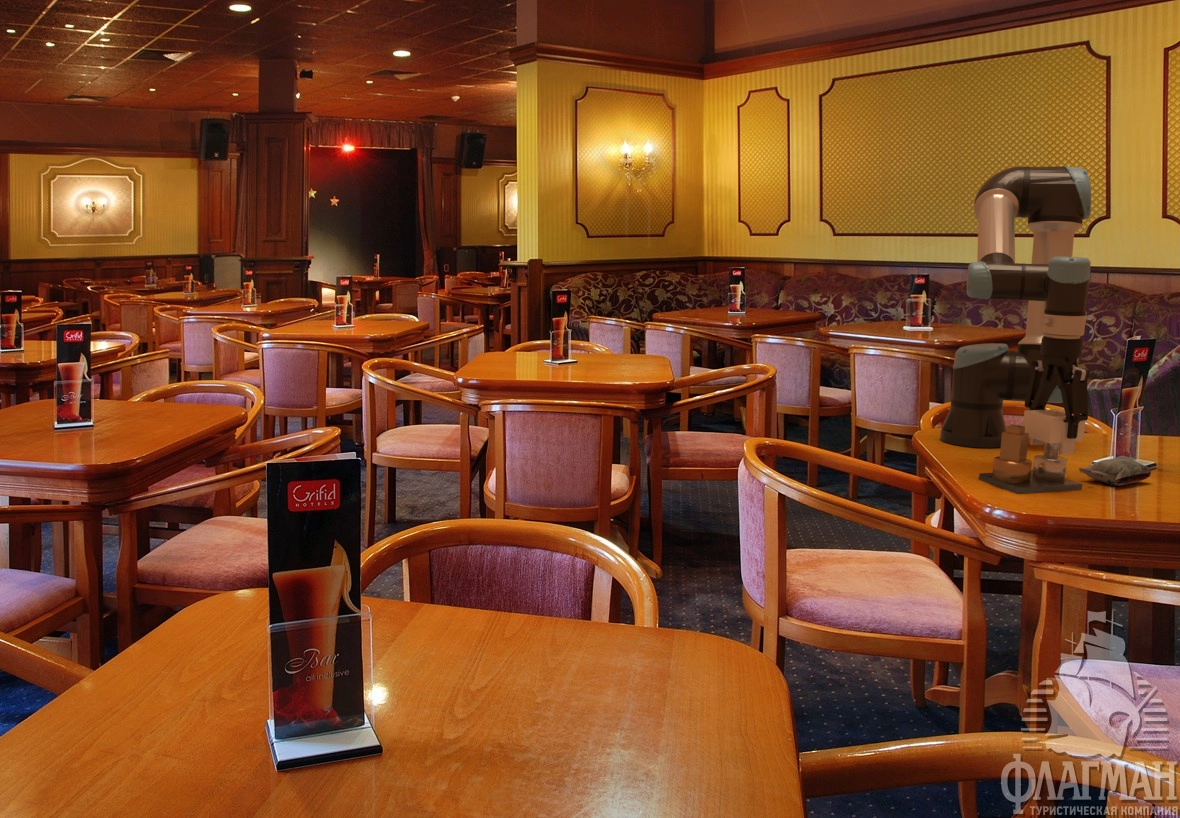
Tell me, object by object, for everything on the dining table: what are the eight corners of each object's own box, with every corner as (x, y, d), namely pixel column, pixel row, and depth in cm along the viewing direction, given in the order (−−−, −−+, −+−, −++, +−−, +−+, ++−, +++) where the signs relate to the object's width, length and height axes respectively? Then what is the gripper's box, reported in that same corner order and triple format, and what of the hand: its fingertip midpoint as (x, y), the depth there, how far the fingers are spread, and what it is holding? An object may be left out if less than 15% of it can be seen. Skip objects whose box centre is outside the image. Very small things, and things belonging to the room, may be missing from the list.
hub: (986, 479, 215) (991, 425, 213) (1001, 473, 220) (1005, 421, 218) (1021, 485, 210) (1026, 431, 208) (1035, 479, 215) (1040, 426, 213)
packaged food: (1077, 481, 221) (1080, 457, 220) (1113, 475, 227) (1115, 452, 226) (1117, 491, 213) (1120, 467, 212) (1152, 484, 219) (1155, 461, 218)
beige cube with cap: (1022, 434, 219) (1024, 410, 218) (1055, 433, 221) (1057, 409, 220) (1049, 443, 211) (1051, 418, 210) (1083, 441, 214) (1086, 416, 213)
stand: (1036, 472, 221) (1041, 419, 219) (1067, 476, 218) (1072, 423, 216) (1029, 478, 216) (1035, 424, 215) (1062, 482, 213) (1067, 427, 211)
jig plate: (1040, 475, 224) (1041, 469, 224) (1082, 489, 213) (1082, 483, 213) (978, 479, 220) (979, 473, 220) (1017, 493, 209) (1018, 487, 208)
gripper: (1011, 330, 221) (1002, 439, 225) (1084, 343, 201) (1072, 462, 206) (1042, 329, 223) (1032, 437, 227) (1117, 342, 204) (1104, 460, 208)
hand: (1051, 449), depth 217 cm, fingers closed on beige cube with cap, 8 cm apart
